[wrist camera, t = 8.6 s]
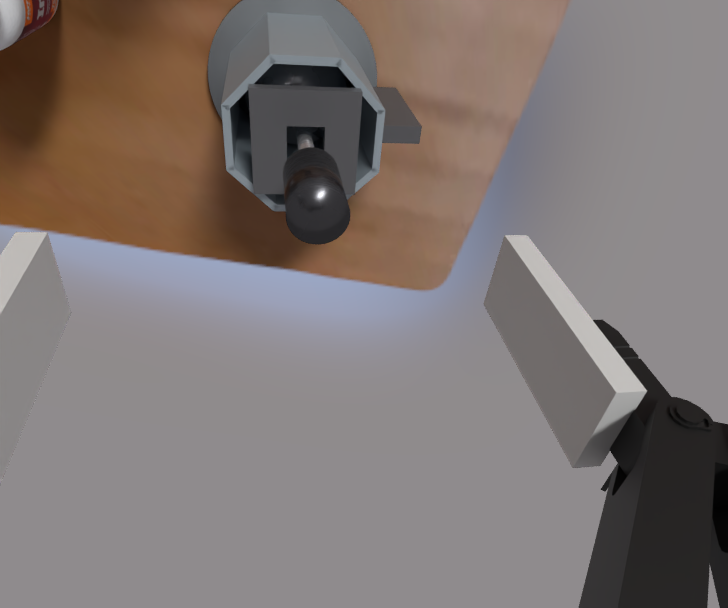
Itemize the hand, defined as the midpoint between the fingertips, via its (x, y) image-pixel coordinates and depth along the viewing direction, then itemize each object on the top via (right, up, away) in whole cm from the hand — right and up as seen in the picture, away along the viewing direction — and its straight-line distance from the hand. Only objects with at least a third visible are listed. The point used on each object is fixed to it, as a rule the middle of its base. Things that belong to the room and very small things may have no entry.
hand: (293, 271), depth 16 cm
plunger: (-3, +16, +26) cm, 31 cm away
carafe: (-2, +18, +29) cm, 34 cm away
